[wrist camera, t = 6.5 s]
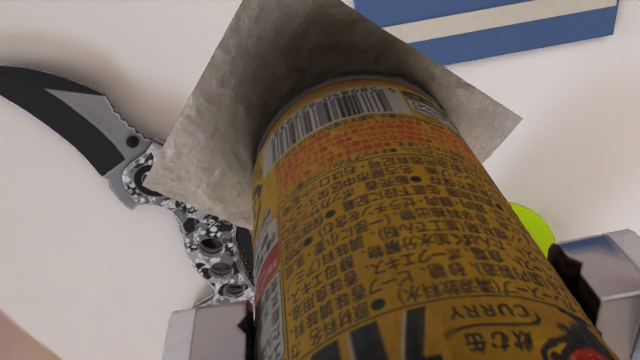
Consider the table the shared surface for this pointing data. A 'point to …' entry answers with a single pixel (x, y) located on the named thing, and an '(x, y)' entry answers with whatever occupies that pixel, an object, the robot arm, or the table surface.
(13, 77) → the knife
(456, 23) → the blue board
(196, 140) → the condiment
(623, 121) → the table surface
